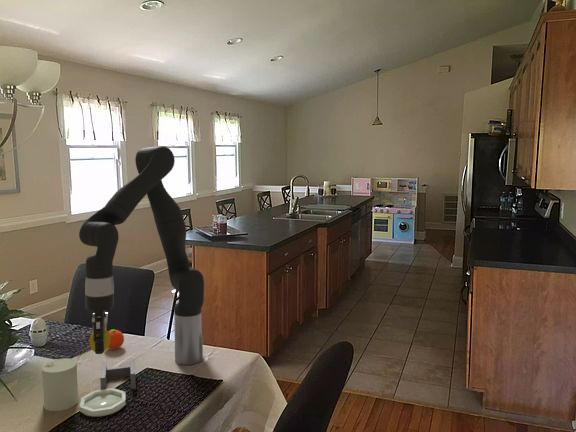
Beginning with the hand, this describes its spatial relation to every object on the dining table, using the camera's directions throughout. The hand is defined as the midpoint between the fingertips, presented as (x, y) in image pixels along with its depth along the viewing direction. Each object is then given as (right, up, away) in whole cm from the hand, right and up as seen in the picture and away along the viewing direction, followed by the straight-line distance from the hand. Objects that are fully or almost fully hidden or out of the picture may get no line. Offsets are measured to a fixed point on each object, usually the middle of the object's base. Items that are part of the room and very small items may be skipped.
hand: (100, 348), depth 134 cm
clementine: (-11, -11, +40) cm, 43 cm away
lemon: (0, -2, 0) cm, 2 cm away
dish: (+1, -16, +1) cm, 16 cm away
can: (-12, -16, +2) cm, 20 cm away
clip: (0, -15, +13) cm, 20 cm away
